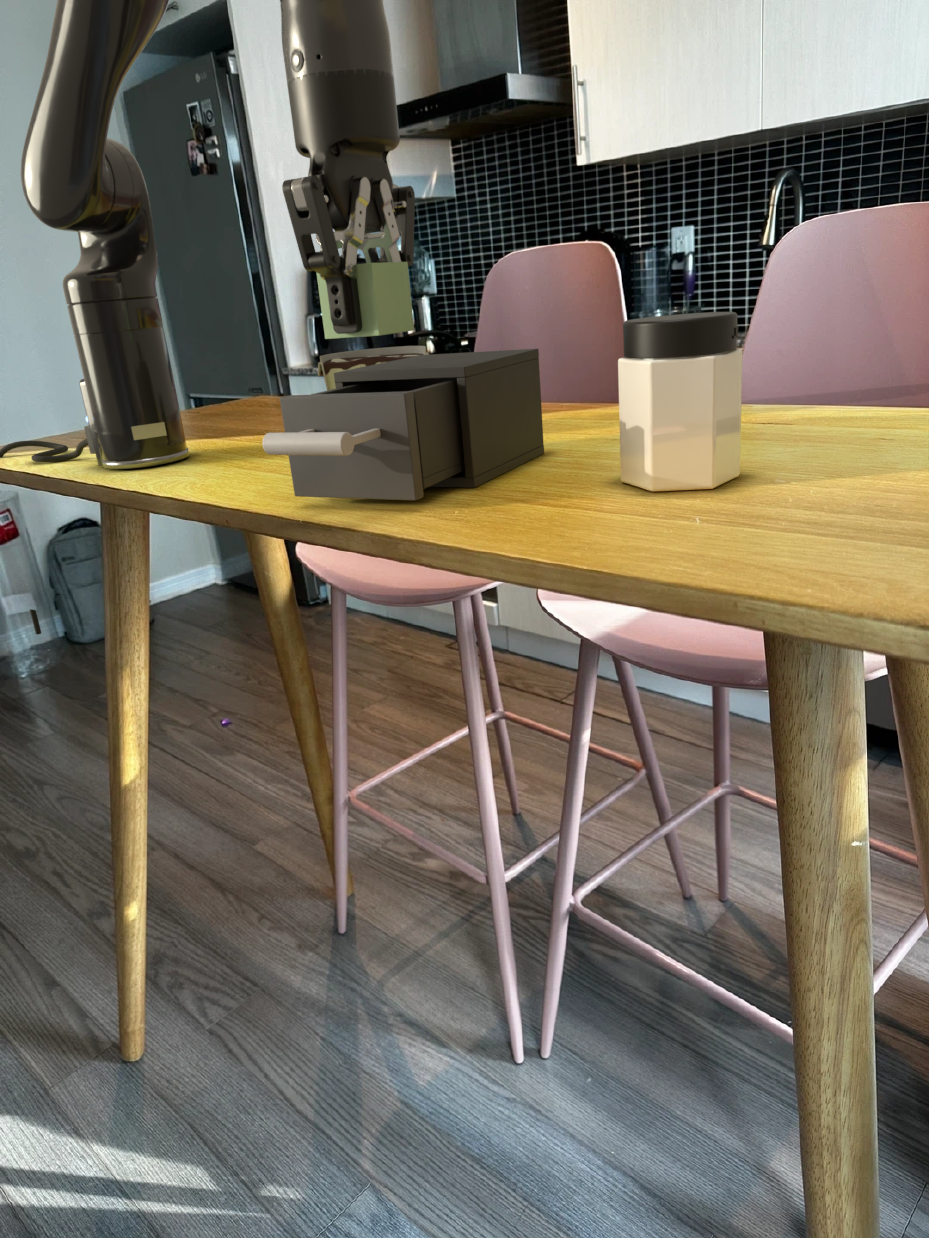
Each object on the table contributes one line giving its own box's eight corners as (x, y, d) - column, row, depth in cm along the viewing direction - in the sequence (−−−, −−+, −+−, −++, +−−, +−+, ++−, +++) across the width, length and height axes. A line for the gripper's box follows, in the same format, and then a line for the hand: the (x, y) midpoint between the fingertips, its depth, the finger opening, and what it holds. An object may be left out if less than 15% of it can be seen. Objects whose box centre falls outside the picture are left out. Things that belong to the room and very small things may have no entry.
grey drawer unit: (474, 488, 72) (464, 366, 69) (348, 484, 78) (333, 373, 75) (544, 453, 84) (538, 348, 81) (430, 452, 90) (420, 355, 87)
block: (324, 339, 67) (315, 269, 66) (361, 334, 71) (353, 267, 70) (379, 335, 65) (371, 262, 63) (414, 330, 69) (407, 261, 67)
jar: (760, 481, 66) (766, 311, 61) (665, 498, 63) (664, 322, 59) (692, 463, 74) (692, 312, 69) (605, 478, 71) (600, 322, 67)
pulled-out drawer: (377, 519, 61) (362, 404, 58) (250, 513, 66) (232, 407, 64) (495, 463, 76) (488, 371, 74) (385, 462, 82) (374, 376, 79)
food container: (446, 434, 101) (437, 342, 97) (439, 443, 95) (430, 346, 92) (340, 441, 102) (328, 352, 99) (328, 451, 96) (314, 356, 93)
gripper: (322, 48, 55) (357, 335, 61) (436, 82, 66) (456, 320, 72) (230, 71, 58) (271, 341, 64) (354, 100, 70) (379, 326, 76)
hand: (369, 329), depth 68 cm, fingers closed on block, 5 cm apart
